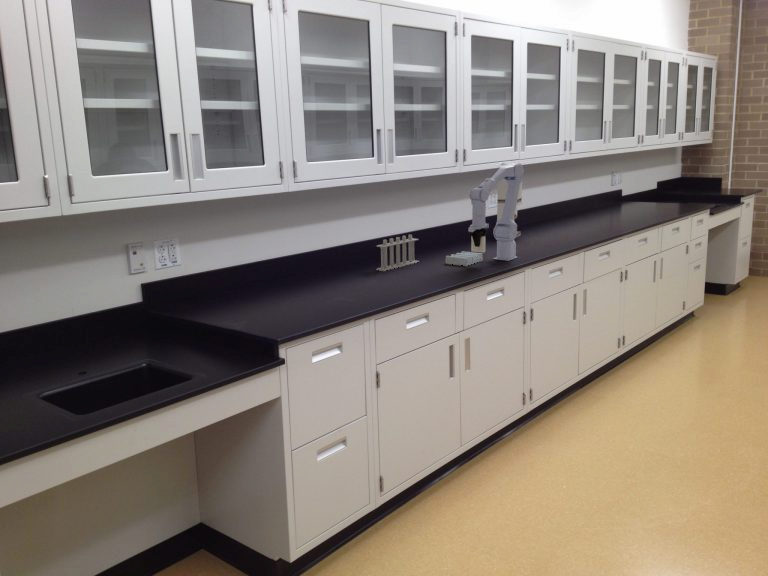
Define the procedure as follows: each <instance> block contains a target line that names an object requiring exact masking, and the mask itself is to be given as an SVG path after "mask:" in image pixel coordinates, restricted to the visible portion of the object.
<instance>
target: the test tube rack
mask: <svg viewBox="0 0 768 576" xmlns="http://www.w3.org/2000/svg"><path fill="white" fill-rule="evenodd" d="M419 240H420V239H419V238H414V237H413V234H408V238H407V236H406V235H402V237H401V236H396V237H395V241H394V238H393V237H391V238H389V242H388V240H387V239H383V240H382V244H378V245H375V246H376V247H377V248H380V263H381V264H380V267H378V268H376V269H375V270H376V271H378V270H379V272H387V271H386V270H388V271H391V270H395V269H399V268H402V267H407V266H411V265H415V264H418V263H417V262H419V263H420V260H415V242H416V241H419ZM407 243H408V248H407ZM388 247H389V265H388ZM401 247H402V249H401ZM394 249H395V251H394ZM407 249H408V260H407ZM401 250H402V262H401ZM394 252H395V253H394ZM394 255H395V256H394ZM395 257H396V258H395ZM395 259H396V260H395ZM394 260H395V261H396V263H395V261H394ZM414 263H415V264H414ZM410 264H411V265H410ZM406 265H407V266H406ZM398 267H399V268H398ZM394 268H395V269H394ZM390 269H391V270H390Z"/></svg>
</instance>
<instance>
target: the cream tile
mask: <svg viewBox="0 0 768 576" xmlns="http://www.w3.org/2000/svg"><path fill="white" fill-rule="evenodd" d="M470 237H471V238H470V239H471V240H470V241H471V243H470V245H471V247H470V248H471V250H470V251H471V252H472V253H482V254H484V253H486V235H485V236H481V240H480V246H479V247H476V246H475V245H474V241H473V238H472V235H471V236H470Z"/></svg>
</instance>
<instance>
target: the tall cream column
mask: <svg viewBox="0 0 768 576" xmlns="http://www.w3.org/2000/svg"><path fill="white" fill-rule="evenodd" d="M507 190H508V183H507V182H505V181H504V179H502V180H501V181H499V182H498V183H497V211H496V212H497V213H496V217H497V219H496V222H497V221H498V220H500V219H501V218H502V214H503V209H504V205H505V200H506V195H507ZM522 193H523V181H522V182H521V185H520V189H519V194H518V199H517V204H516V209H515V213H514V218H513V221H514V222H515V220H516V219H517V218H518V206H520V205H522V204H523V203H522V199H523V196H522ZM505 226H506V225H505ZM521 232H522V231H518V230H517V236H516V238H515V239H517V238H519V237H521V235H522V233H521Z"/></svg>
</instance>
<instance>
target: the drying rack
mask: <svg viewBox="0 0 768 576" xmlns="http://www.w3.org/2000/svg"><path fill="white" fill-rule="evenodd" d="M483 254H484V253H482V252H470V251H463V250H462V251H461V252H456V253H455V254H450V255H446V256H445V264H446V265H452V264H453V265H454V266H461V265H463V267H468V265H469V266H472V265H474V263H475V264H478V263H481V262H483V261H484V258H483V257H484V255H483ZM477 262H478V263H477ZM471 264H472V265H471Z"/></svg>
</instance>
